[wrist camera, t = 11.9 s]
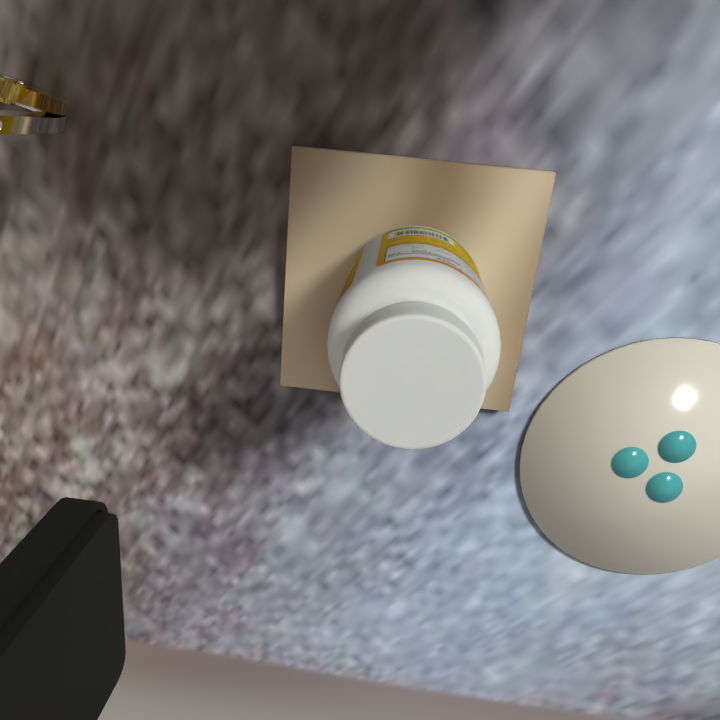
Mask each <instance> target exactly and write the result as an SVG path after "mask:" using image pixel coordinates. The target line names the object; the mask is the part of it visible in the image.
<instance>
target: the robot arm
mask: <svg viewBox="0 0 720 720" xmlns="http://www.w3.org/2000/svg"><path fill="white" fill-rule="evenodd" d="M124 661H125V634H124V616H123V599H122V581H121V564H120V546H119V529H118V519H117V517H116V515H114V514H110V513H108V510H107V507H106V505H105V504H104V503H102V502H97V501H90V500H82V499H75V498H68V497H66V498H62V499H61V500H59V501H58V502H57V503H56V504H55V505H54V506H53V507H52V508H51V509H50V510H49V512H48V513H47V514H46V515H45V516H44V517H43V518H42V519H41V520H40V521H39V522H38V523H37V525H36V526H35V527H34V528H33V529H32V530H31V531H30V532H29V533H28V534H27V535H26V536H25V538H24V539H23V540H22V541H21V542H20V543H19V544H18V545H17V546H16V547H15V548H14V549H13V551H12V552H11V553H10V554H9V555H8V556H7V557H6V558H5V559H4V560H3V561H2V562H1V564H0V720H97V719H98V717H99V715H100V714H101V712H102V710H103V708H104V706H105V704H106V702H107V700H108V699H109V697H110V695H111V693H112V691H113V689H114V687H115V685H116V683H117V682H118V680H119V677H120V675H121V672H122V669H123V666H124Z"/></svg>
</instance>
